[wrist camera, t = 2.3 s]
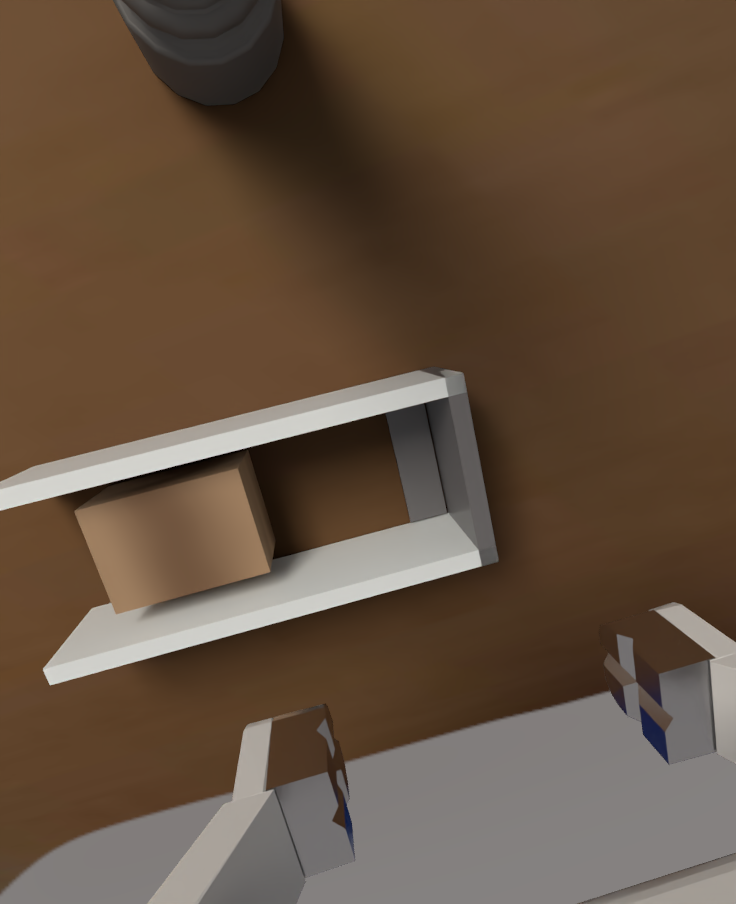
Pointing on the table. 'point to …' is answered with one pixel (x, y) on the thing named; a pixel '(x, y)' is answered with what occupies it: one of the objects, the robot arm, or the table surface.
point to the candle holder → (208, 44)
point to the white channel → (306, 573)
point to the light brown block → (179, 531)
